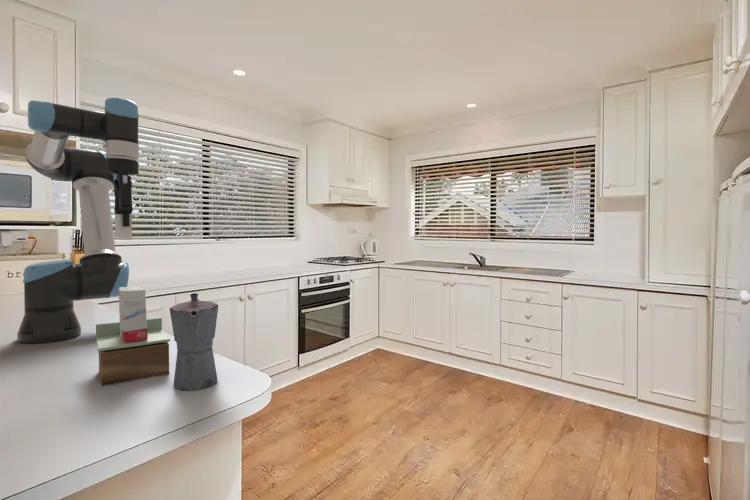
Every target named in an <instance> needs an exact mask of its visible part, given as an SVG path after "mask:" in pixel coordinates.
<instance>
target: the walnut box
mask: <svg viewBox="0 0 750 500" xmlns="http://www.w3.org/2000/svg"><path fill="white" fill-rule="evenodd" d="M98 373H99V379H101V380H100V385H101V387H105V386H110V385H116V384H121V383H126V382H130V381H131V382H133V381H137V380H143V379H148V378H149V379H150V378H154V377H159V376H164V375H169V374H170V344H169V342H163V343H156V344H148V345H141V346H134V347H127V348H120V349H113V350H106V351H99V352H98Z"/></svg>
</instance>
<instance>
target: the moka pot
mask: <svg viewBox="0 0 750 500" xmlns="http://www.w3.org/2000/svg"><path fill="white" fill-rule="evenodd" d="M198 296H199V294H198V293H195V292H194V293H190V300H189V301H185V302H180V303H177V304H174V305H173V306H171V307H170V308H169V313H170V319H171V326H172V333H173V339H174V342H175V343H176V350H177V352H176V360H175V369H174V375H173V376H174V377H173V378H174V379H173V387H174V388H175V389H177V390H180V391H198V390H202V389H206V388H208V387H211V386H212V385H214V384H215V383H216V382H217V381H218V374H217V368H216V362H215V357H214V356H215V355H214V350H213V344H214V341H213V340H214V339H215V337H216V336H215V335H216V327H217V321H218V319H217V318H218V314H219V313H218V311H219V304H218V303H216V302H213V301H210V300H209V301H207V300H200V299H198Z"/></svg>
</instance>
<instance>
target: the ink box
mask: <svg viewBox="0 0 750 500" xmlns="http://www.w3.org/2000/svg"><path fill="white" fill-rule="evenodd" d="M146 300H147V299H146V289H144V287H143V286H141V285H137V286H135V285H133V286H127V287H120V288H119V296H118V302H119V303H118V307H119V309H118V310H119V311H118V312H119V322H120V336H121V338H122V339H123V341H124V343H128V342H134V341H140V340H145V339H148V335H147V319H148V318H147V306H146V305H147V302H146Z"/></svg>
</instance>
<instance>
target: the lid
mask: <svg viewBox="0 0 750 500" xmlns="http://www.w3.org/2000/svg"><path fill="white" fill-rule="evenodd" d="M162 322H163V319H162V317H161V316H160V317H151V318H150V317H149V318H147V335H148V339H145V340H140V341H134V342H128V343H124V341H123V339H122V338H121V336H120V321H113V322H112V321H111V322H104V323H96V324H95V341H96V346H97V351H98V353H99V351H106V350H113V349H120V348H127V347H134V346H141V345H148V344H156V343H163V342H168V343H169V342H171V338H170V337H169V335H167V334H166V332H165V331H164V329H163V323H162Z"/></svg>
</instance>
